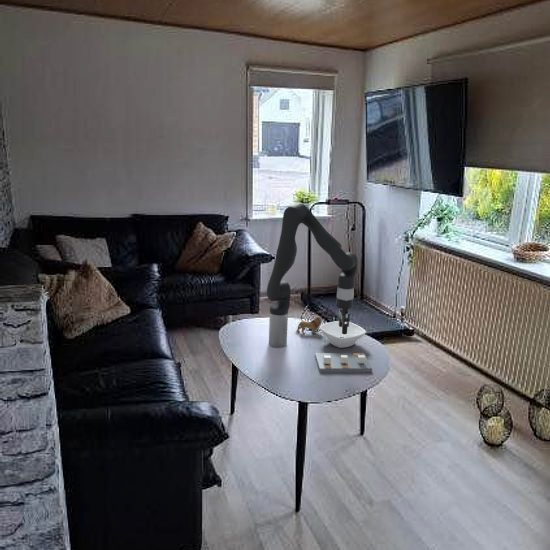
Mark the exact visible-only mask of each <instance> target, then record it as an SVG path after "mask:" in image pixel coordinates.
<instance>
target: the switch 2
mask: <svg viewBox="0 0 550 550" xmlns="http://www.w3.org/2000/svg"><path fill="white" fill-rule="evenodd" d="M340 362H341V363H348V356H347V355H341V357H340Z"/></svg>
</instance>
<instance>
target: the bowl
mask: <svg viewBox="0 0 550 550" xmlns="http://www.w3.org/2000/svg"><path fill="white" fill-rule="evenodd" d="M345 324H347V323H346V322H345ZM319 330H320V331H321V333H322V335H324V336H325V337H326V338H327V339H326V340H327V341H328V342H329V343H330V344H331V345H333V346H335V347H337V348H339V349H344V348H350V347H352V346H354V345H355V343H357V342H358V340H360V339H362V338H363V337H364V336H365V334H367V330H365V328H363V327H361V326H359V325H358V324H356V323H353V322H351V321H349V327H347V334H342V327H339V320H336V321H329V322H326V323H323V324H321V325H320V326H319ZM340 337H344V338H340Z"/></svg>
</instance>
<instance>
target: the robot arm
mask: <svg viewBox="0 0 550 550" xmlns="http://www.w3.org/2000/svg"><path fill="white" fill-rule="evenodd" d="M301 224H302V225H304V226H306V227H307V228H308V229H309V231H310V232H311V233H312V235H313V237H314V239H315V241H316V243H317V244H318V246H319V247H320V248H321V249H323V251H325V253H326V254H328V255H329V256H330V258H331V260H332V261H333V262H334V263H335V265H336V266H337V267H338V268H339V269H340V270H341V272H340V274H339V276H338V283H337V291H336V300H335V301H336V304H335V306H336V307H337V308H338V313H337V316H338V321H339V327H342V334H347V327H349V322H350V316H351V315H350V311H349V309H352V308H353V307H354V296H355V291H354V288H355V277H356V272H357V268H358V257H357V255H356V253H355V252H351V251H347V252H345V251H344V250H343V248H342V244H341V242H339V241H338V239H336V238H335V236H333V235H332V234H331V233H330V232H329V231H327V229H326V228H325V227H324V226H323V225H322V224H321V222H320V221H319V220H318V219H317V217H316V216H315V215H314V213H313V212H312V211H311V209H309V207H308V206H307V205H306V204H305V203H302V202H296V203H293V204H291V205H289V206H287V207H286V208H285V209H284V211H283V215H282V223H281V231H280V236H279V242H278V246H277V249H276V253H275V259H274V263H273V268H272V272H271V274H270V278H269V280H268V282H267V286H266V296H267V298H268V300H269V301H270V302H274V303H273V304H272V305H270V307H269V323H268V324H269V326H268V328H269V329H268V345H269V346H270V347H273V348H284V347H286V346H287V344H288V321H289V310H290V304H291V292H292V290H291V286H290V283H289V282H288V281H286V280H283V279H284V276H285V275H286V274H287V273H288V272H289V271H290V269H291V268H292V267H293V265H294V263H295V260H296V258H297V252H298V246H297V242H296V235H297V231H298V228H299V225H301ZM345 322H346V323H347V324H345Z"/></svg>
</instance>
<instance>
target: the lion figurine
mask: <svg viewBox="0 0 550 550" xmlns="http://www.w3.org/2000/svg"><path fill="white" fill-rule="evenodd" d="M322 322H323V320H322V317H321V316H318V315H317V316H315V318H314V319H313V320H311V321H305V320H303V321H300V322H299V324H298V326H297V329H296V331H295V334H298V333H302V334H303V335H306V332H305V328H306V329H311V333H313V334H314V335H317V332H316V331H317V329H318V328H319V326H321V325H322ZM319 329H320V328H319ZM300 330H301V332H300Z"/></svg>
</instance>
